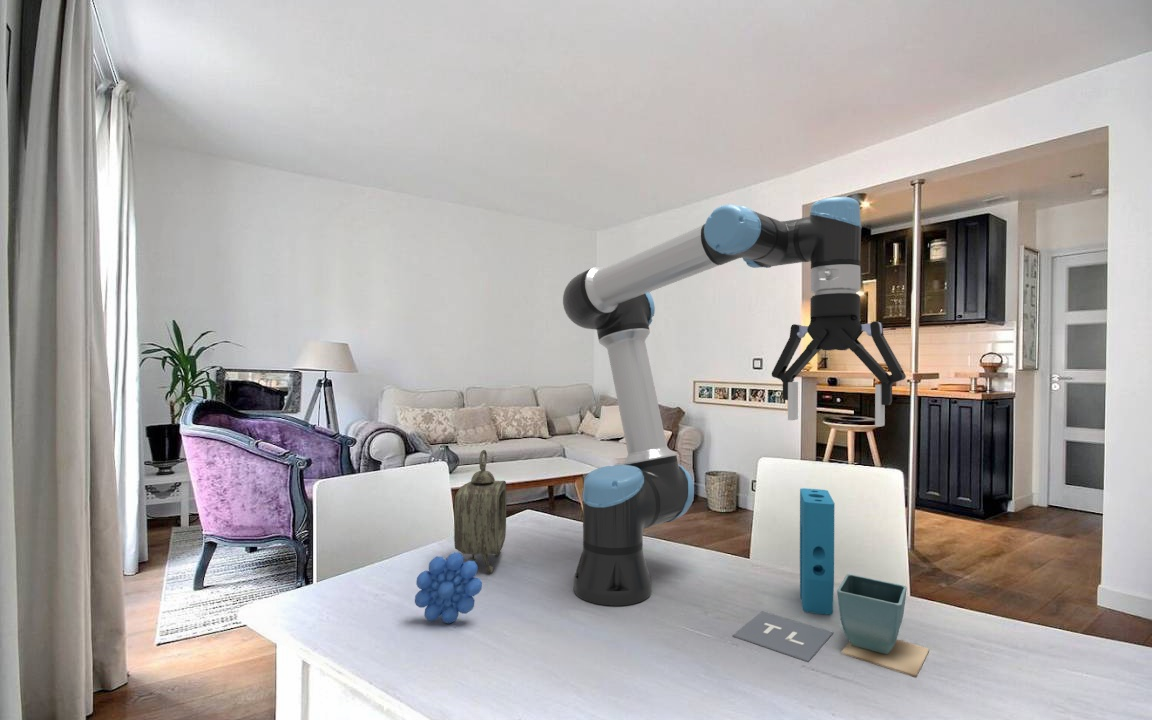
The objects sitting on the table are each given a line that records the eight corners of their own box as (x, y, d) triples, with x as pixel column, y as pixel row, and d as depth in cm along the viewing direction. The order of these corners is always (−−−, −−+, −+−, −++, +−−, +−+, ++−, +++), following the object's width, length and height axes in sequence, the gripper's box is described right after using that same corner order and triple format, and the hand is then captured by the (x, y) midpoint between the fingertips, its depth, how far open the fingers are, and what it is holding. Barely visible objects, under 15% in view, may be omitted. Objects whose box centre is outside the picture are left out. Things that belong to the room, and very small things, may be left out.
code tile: (732, 636, 93) (732, 634, 93) (762, 612, 102) (762, 610, 102) (808, 662, 85) (808, 660, 85) (833, 633, 94) (833, 631, 94)
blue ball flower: (487, 613, 101) (488, 545, 101) (478, 631, 94) (478, 558, 94) (423, 610, 102) (424, 543, 102) (409, 628, 95) (409, 556, 95)
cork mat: (841, 653, 87) (841, 651, 87) (859, 630, 95) (859, 628, 95) (916, 677, 81) (916, 675, 81) (929, 650, 89) (929, 648, 89)
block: (834, 619, 99) (835, 504, 99) (803, 615, 101) (804, 502, 101) (826, 593, 110) (827, 489, 110) (799, 589, 112) (799, 488, 112)
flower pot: (901, 665, 83) (901, 604, 83) (835, 648, 89) (836, 590, 89) (907, 641, 91) (907, 585, 91) (846, 626, 96) (846, 573, 96)
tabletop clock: (496, 577, 117) (497, 456, 118) (452, 576, 118) (453, 455, 118) (505, 553, 132) (506, 445, 132) (467, 553, 132) (467, 445, 132)
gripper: (753, 297, 99) (752, 418, 99) (917, 285, 83) (916, 431, 83) (770, 300, 105) (769, 416, 105) (926, 290, 89) (926, 426, 89)
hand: (834, 422), depth 94 cm, fingers open, 13 cm apart
